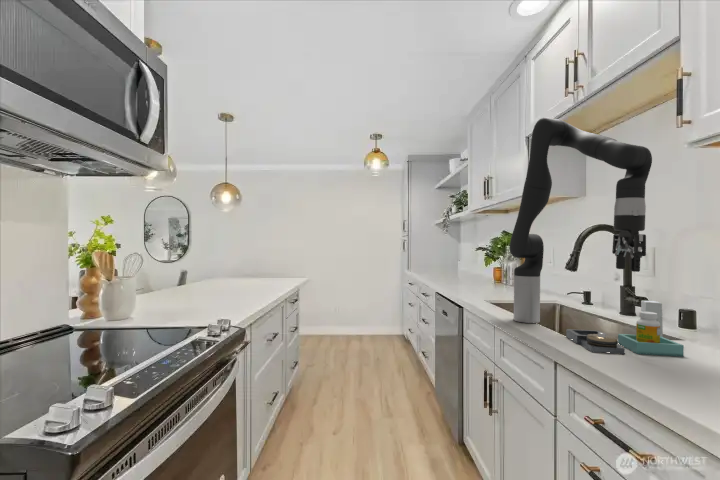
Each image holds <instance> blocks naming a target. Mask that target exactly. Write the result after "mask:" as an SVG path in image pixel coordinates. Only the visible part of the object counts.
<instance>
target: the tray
mask: <svg viewBox="0 0 720 480" xmlns="http://www.w3.org/2000/svg"><path fill="white" fill-rule="evenodd" d="M617 340H618V343H619V344H620V345H619V344H618V345H619V346H621V345H622V346H621V347H623V346H624V347H623V348H625V349H626V350H628V349H629V351H630V350H631V351H630V352H632V351H633V352H632V353H634V354H636V355H648V356H649V355H650V356H666V357H667V356H668V357H681V358H683V357H684V356H685V355H684V353H685V352H684V351H685V350H684V345H683V344H681V343H678V342H676V341H674V340H671V339H668V338H665V337H664V336H663V337H661V336H660V343H648V342H638V341H636V334H629V333H628V334H627V333H626V334H625V333H618V334H617Z"/></svg>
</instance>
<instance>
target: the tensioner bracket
mask: <svg viewBox="0 0 720 480" xmlns="http://www.w3.org/2000/svg"><path fill="white" fill-rule="evenodd" d="M565 330H566V331H565V332H566V334H565V335H566V338H567V339H569V340H570V339H573V340H571V341H572V342H573V343H575V344H576V345H580V346H581V347H583V348H584V349H586V350H588V351H589V352H591V353H596V352H610V353H609V354H613V353H620V354H619V355H625V353H626V352H625V350H626V348H625V347H623V346H621V345H619V344H618V337H615V336H613V335H608V334H607V333H606V332H603V331H600V330H595V329H593V330H592V329H591V330H589V329H572V328H566V329H565Z"/></svg>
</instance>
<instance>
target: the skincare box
mask: <svg viewBox="0 0 720 480" xmlns="http://www.w3.org/2000/svg"><path fill="white" fill-rule="evenodd" d="M640 308H641V310H640V312H653V313H657V319H656V321H658V322H659V323H660V336H661V337H664V332H663V328H664V326H663V303H662V302H659V301H657V300H641V301H640Z"/></svg>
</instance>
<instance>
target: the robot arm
mask: <svg viewBox="0 0 720 480" xmlns="http://www.w3.org/2000/svg"><path fill="white" fill-rule="evenodd" d="M531 133H532V134H531V139H530V140H531V141H530V151H529V158H528V166H527V172H526V177H525V180H524V185H523V189H522V195H521V202H520V206H519V210H518V213H517V218H516V222H515V224H514V227H513V229H512V234H511V237H510V240H509V252H510V253H511V255H512V256H513V258H517V259H524V261H523V262H522V264H520V265H519V266H517V267H515V268H514V272H513V321H515V322H520V323H527V324H538V323H540V321H541V320H540V319H541V316H540V315H541V273H542V269H543V265H544V264H543V263H544V252H545V251H544V250H545V249H544V246H545V245H544V241H543V238H542V237H541V236H540V235H539V234H535V233H530V230H531V228H532V226H533V223H534V221H535V220H536V218H537V217H538V216H539V215H540V214H541V212H542V211H543V210H544V209H545V207H546V206H547V204H548V203H549V200H550V195H551V191H552V186H553V179H552V175H551V172H550V169H549V165H548V154H549V149H550V146H551V147H556V146H557V147H567V148H572V149H574V150H576V151H578V152H580V153H581V154H583V155H585V156H587V157H589V158H592V159H595V160H598V161H602V162H604V163H606V164H607V165H609V166H612V167H614V168H617V169H621V170H625V174H624V178H620V179H619V180H617V182H616V185H615V186H616V187H615V203H614V208H613V211H614V212H613V230H614V231H616V232H617V231H619V232H618V234H613V236H612V237H613V238H612V255H614V256H615V261H616V262H615V268H616V270H625V269H626V255H627V252H628V254H629V256H630V263H629V271H630V272H632V273H633V272H635V273H636V272H637V273H638V272H640V271H641V259H643V257H646V255H647V236H646V234H643V233H642V234H640V232H643V231H645V229H646V212H647V211H646V210H647V209H646V208H647V205H646V199H645V197H646V183H647V180H648V177H649V174H650V170H651V168H652V165H653V164H652V162H653V156H652V152H651V150H650V149H649V148H647V147H646V146H641V145H637V144H630V143H626V142H622V141H618V140H616V139H614V138H612V137H608V136H605V135H602V134H599V133H598V134H597V133H592V132H588V131H587V130H586V131H585V130H582V129H580V128H577V127H576V126H574V125H572V124H570V123H568V121H567V122H566V121H565V120H563V119H558V118H552V117H541V118H540V119H539V120H537V121H536V122H535V125H534V126H533V129H532V132H531Z"/></svg>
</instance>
